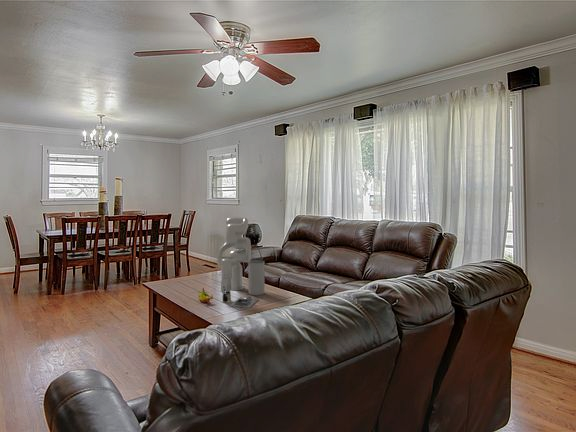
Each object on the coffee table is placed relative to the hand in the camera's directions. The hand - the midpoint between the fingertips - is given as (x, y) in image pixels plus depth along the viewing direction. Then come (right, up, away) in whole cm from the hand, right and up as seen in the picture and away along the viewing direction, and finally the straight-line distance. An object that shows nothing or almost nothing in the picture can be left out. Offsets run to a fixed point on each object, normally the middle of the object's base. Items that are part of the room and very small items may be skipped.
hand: (226, 300), depth 270 cm
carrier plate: (+14, -1, -3) cm, 14 cm away
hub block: (0, -1, 0) cm, 1 cm away
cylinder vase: (+20, 0, +22) cm, 30 cm away
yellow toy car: (-16, -1, 0) cm, 17 cm away
